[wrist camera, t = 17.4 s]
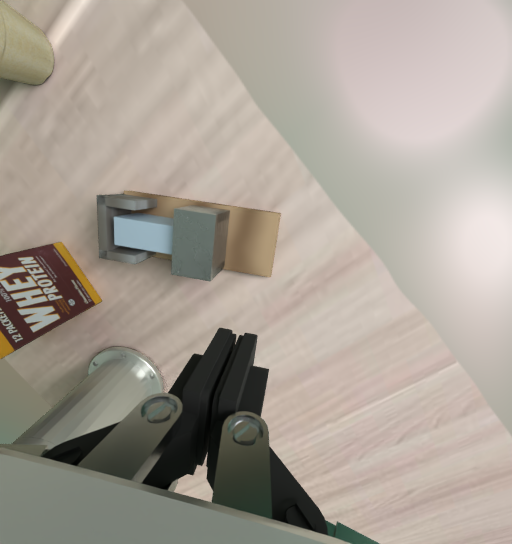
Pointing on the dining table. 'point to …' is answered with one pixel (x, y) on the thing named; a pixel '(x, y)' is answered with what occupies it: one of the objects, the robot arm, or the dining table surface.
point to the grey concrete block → (199, 241)
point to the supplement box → (39, 294)
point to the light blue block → (144, 232)
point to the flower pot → (23, 49)
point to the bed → (242, 221)
